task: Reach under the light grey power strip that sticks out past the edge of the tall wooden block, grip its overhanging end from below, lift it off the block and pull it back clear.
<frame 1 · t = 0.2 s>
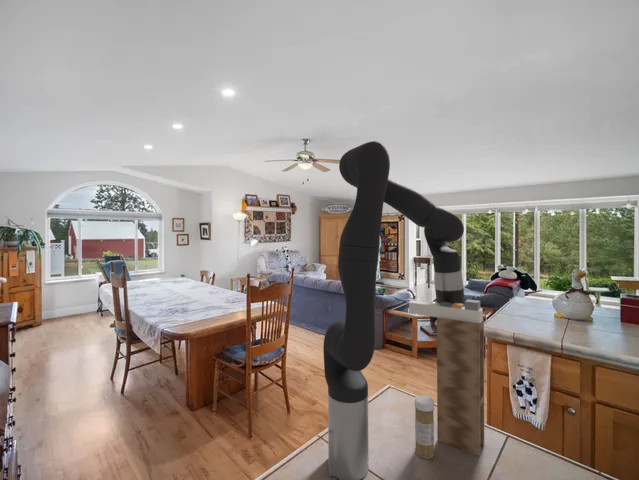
hand: (454, 341, 90), 23 cm above the countertop, tool pointing down, fingers open, 8 cm apart
tall wooden block: (460, 441, 81), on the countertop
sprinkles bottle: (424, 454, 77), on the countertop
power strip: (444, 316, 83), point 32 cm above the countertop, touching tall wooden block
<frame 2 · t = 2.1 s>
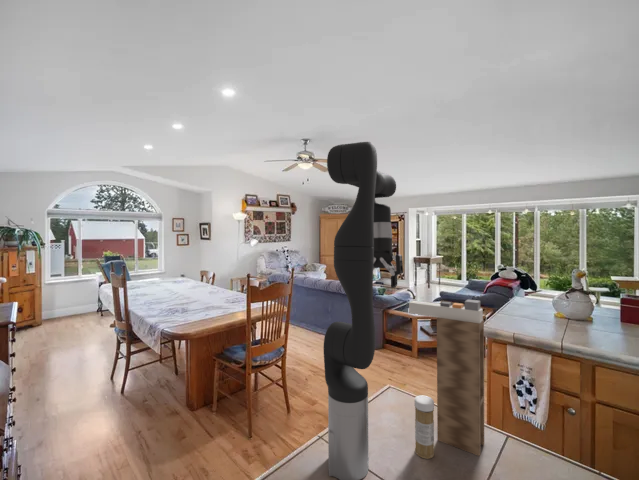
hand: (381, 286, 101), 37 cm above the countertop, tool pointing down, fingers open, 8 cm apart
nothing on the countertop moved.
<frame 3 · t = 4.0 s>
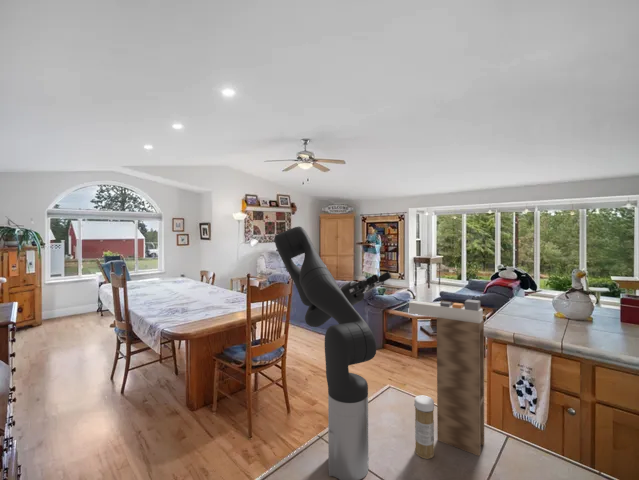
hand: (384, 275, 101), 41 cm above the countertop, tool pointing upward, fingers open, 8 cm apart
nothing on the countertop moved.
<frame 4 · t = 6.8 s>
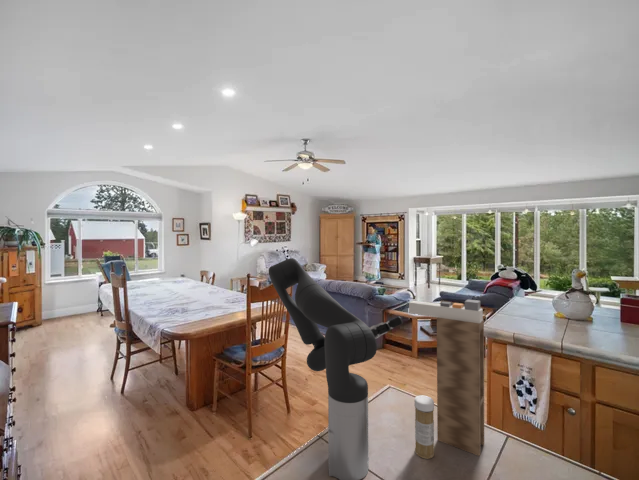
hand: (395, 322, 92), 28 cm above the countertop, tool pointing upward, fingers open, 8 cm apart
nothing on the countertop moved.
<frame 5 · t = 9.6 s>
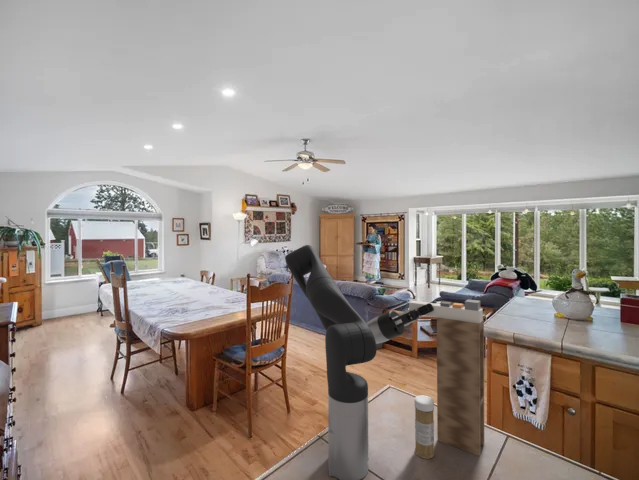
hand: (434, 305, 85), 35 cm above the countertop, tool pointing upward, fingers closed on power strip, 3 cm apart
power strip: (444, 316, 83), point 32 cm above the countertop, touching gripper, tall wooden block
everything else where it was.
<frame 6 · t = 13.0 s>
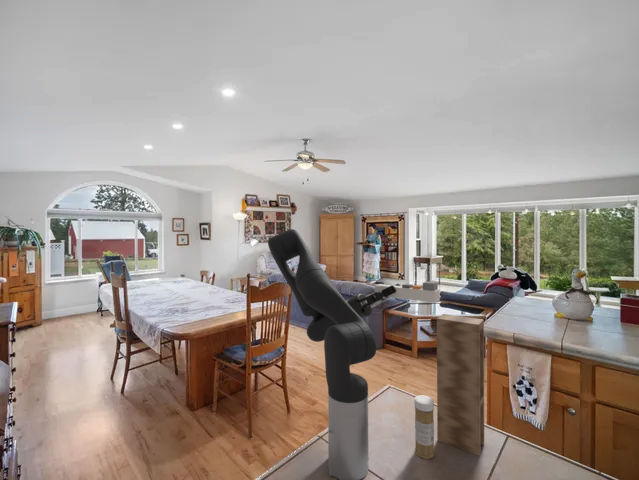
hand: (397, 287, 91), 39 cm above the countertop, tool pointing upward, fingers closed on power strip, 3 cm apart
power strip: (405, 297, 90), point 36 cm above the countertop, touching gripper
everything else where it was.
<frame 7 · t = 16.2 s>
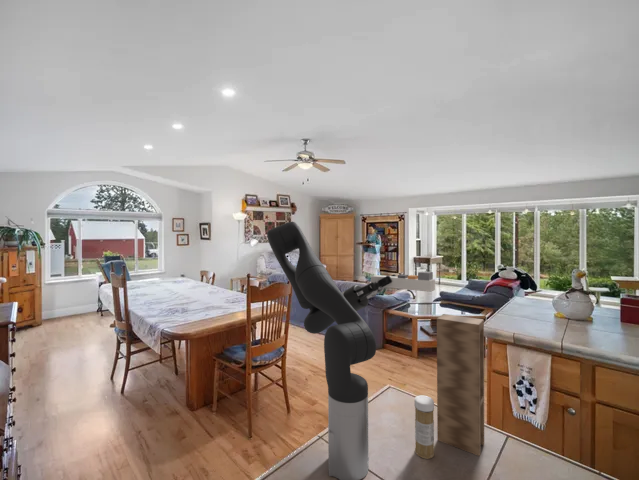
hand: (393, 277, 92), 41 cm above the countertop, tool pointing upward, fingers closed on power strip, 3 cm apart
power strip: (401, 287, 91), point 39 cm above the countertop, touching gripper
everything else where it was.
at the end: the gripper is holding power strip; power strip touching gripper; power strip moved 13.6 cm from its start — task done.
